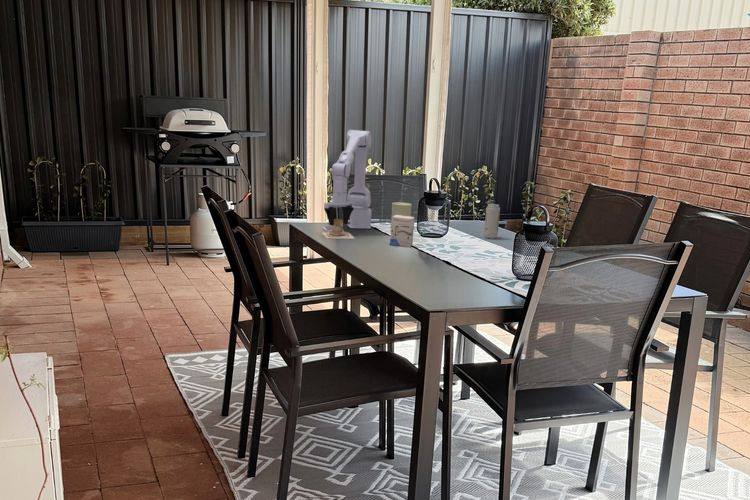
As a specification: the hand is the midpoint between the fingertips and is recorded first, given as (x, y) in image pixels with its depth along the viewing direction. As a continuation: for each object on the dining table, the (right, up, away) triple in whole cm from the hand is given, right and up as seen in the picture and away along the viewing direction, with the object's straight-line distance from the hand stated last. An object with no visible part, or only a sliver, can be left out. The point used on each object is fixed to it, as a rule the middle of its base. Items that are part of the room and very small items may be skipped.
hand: (338, 224), depth 283 cm
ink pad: (-3, -2, +13) cm, 13 cm away
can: (+27, -1, +29) cm, 40 cm away
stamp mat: (0, -5, +1) cm, 5 cm away
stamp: (-1, -4, +1) cm, 5 cm away
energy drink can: (+67, -6, +17) cm, 69 cm away
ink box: (+26, -9, -10) cm, 29 cm away
